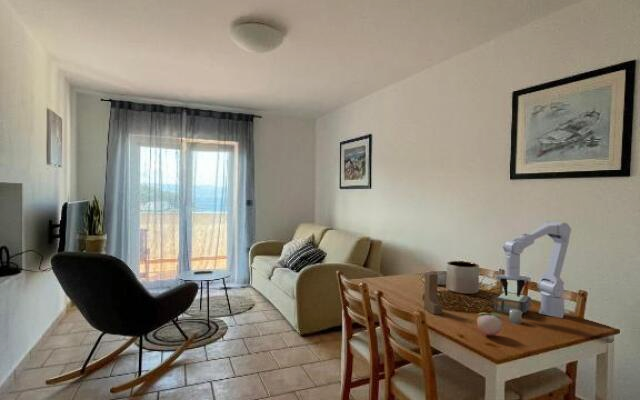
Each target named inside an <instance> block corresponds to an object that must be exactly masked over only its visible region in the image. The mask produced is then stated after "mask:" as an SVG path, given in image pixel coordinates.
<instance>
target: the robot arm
mask: <svg viewBox="0 0 640 400" xmlns="http://www.w3.org/2000/svg"><path fill="white" fill-rule="evenodd" d="M571 232H572V228H571V226H570V225H569V224H568V223H567V222H558V221H550V220H547V221H545V222H543V223H541V226H539V227H538V228H536V229H535V230H533V231H531V232H530V233H527V232H523V233H521V235H519V236H518V237H514V238H513V239H512V240H507V241H506V242H504V243H503V244H504V245H503V246H502V248H503V250H504V254H505V274H496V273H495V274H494V280H500V282H501V284H502V287H503V291H504V292H505V295H506V296H507V292H508V284H509V282H508V281H516V294H517V296H518V297H520V294H521V293H522V290H523V288H524V286H526V285H525V284H526V282H529V283H530V282H532V281H531V279H532V277H531V276H524V275H521V274H520V273H521V272H520V271H521V254H522V253H523V252H524V250H525V249H526V248H528V247H529V246H532V245H533V244H534V243H535V241H536V240H537V239H539V238H542V237H544V236H546V235H547V236H548V237H549V238H551V239H552V240H553V242H554V244H553V247H552V249H551V250H552V251H551V255H550V258H549V262H548V265H547V266H548V267H547V270H546V273H544V274H542V275H541V276H540V279H539V281H538V282H537V284H536V286H537V289H538V291H539V293H540V309H539V310H538V314H539V315H545V316H551V317H554V318H560V319H563V318H564V315H565V313H566V311H565V303H566V302H565V297H564V296H563V294H564V291H565V290H564V289H565V287H564V285H565V282H564V280H563V279H562V278H561V274H562V270H563V266H564V263H565V258H566V254H567V251H568V246H569V243H570V236H571V234H572V233H571Z"/></svg>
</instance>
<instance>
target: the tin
mask: <svg viewBox="0 0 640 400" xmlns="http://www.w3.org/2000/svg"><path fill="white" fill-rule="evenodd" d="M430 272H433V273H436V274H437V275H438V277H437V286H446V278H447V271H445V270H432V271H430Z"/></svg>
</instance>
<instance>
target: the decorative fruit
mask: <svg viewBox="0 0 640 400" xmlns="http://www.w3.org/2000/svg"><path fill="white" fill-rule="evenodd" d="M503 319H504V318H503V317H502V316H501V315H499V314H497V313H491V310H489V313H488V312H483V311H482V312H479V313H477V320H476V324H477V327H478V328H479V330H480V331H481V332H482V333H483V334H485V335H487V336H488V337H491V336H495V335H498V334H499V333H500V332H501V331H502V328H503V322H502V320H503Z"/></svg>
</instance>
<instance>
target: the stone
mask: <svg viewBox="0 0 640 400" xmlns="http://www.w3.org/2000/svg"><path fill="white" fill-rule="evenodd" d="M508 316H509V319H508V320H509V322H510V323H512V324H519V325H520V324H522V322H523V321H522V318H523V317H522V316H523V315H522V311H521V310H518V309H510V311H509V315H508Z"/></svg>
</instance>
